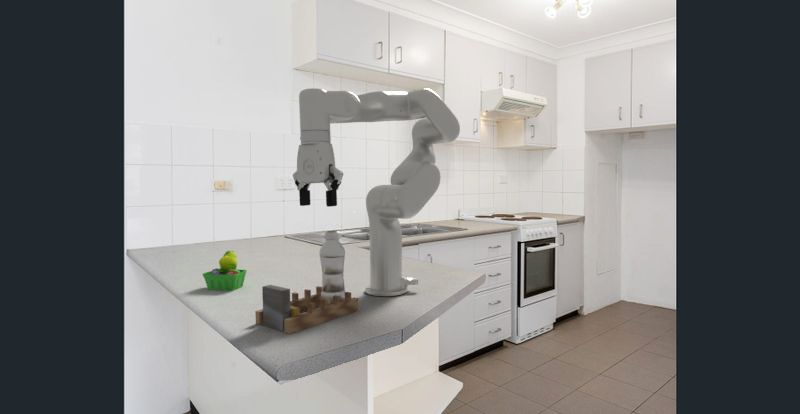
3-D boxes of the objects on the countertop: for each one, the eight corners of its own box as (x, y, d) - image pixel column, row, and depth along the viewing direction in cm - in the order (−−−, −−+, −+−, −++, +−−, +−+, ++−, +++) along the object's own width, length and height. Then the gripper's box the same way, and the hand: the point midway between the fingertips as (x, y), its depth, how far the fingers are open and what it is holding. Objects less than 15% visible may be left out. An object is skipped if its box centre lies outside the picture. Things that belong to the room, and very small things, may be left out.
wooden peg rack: (325, 302, 119) (325, 269, 118) (358, 309, 112) (358, 274, 111) (255, 323, 101) (254, 285, 101) (289, 334, 94) (288, 292, 94)
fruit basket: (201, 290, 134) (200, 253, 133) (218, 283, 143) (217, 249, 142) (235, 291, 132) (234, 254, 131) (250, 284, 141) (249, 250, 140)
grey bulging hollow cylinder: (342, 313, 109) (340, 233, 108) (316, 311, 110) (314, 232, 109) (350, 305, 115) (348, 230, 114) (325, 304, 117) (324, 230, 116)
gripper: (281, 140, 114) (284, 206, 115) (329, 135, 104) (332, 207, 105) (303, 141, 120) (306, 204, 121) (350, 137, 110) (353, 205, 111)
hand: (318, 205), depth 113 cm, fingers open, 9 cm apart
